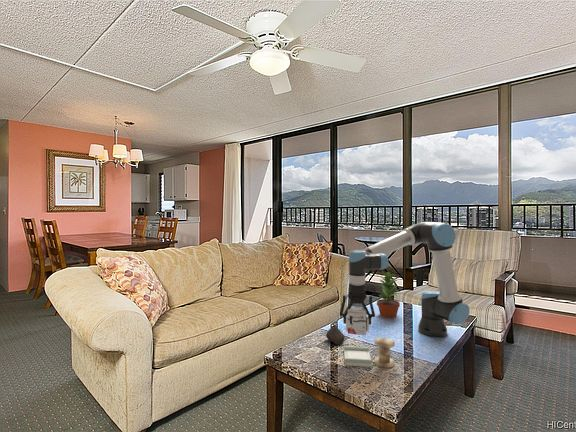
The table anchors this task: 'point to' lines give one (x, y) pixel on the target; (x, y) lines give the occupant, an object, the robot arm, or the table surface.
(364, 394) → the table surface
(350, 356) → the notch board
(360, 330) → the ink box
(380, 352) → the beige door knob
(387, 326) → the table surface
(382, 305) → the potted plant
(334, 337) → the stone
